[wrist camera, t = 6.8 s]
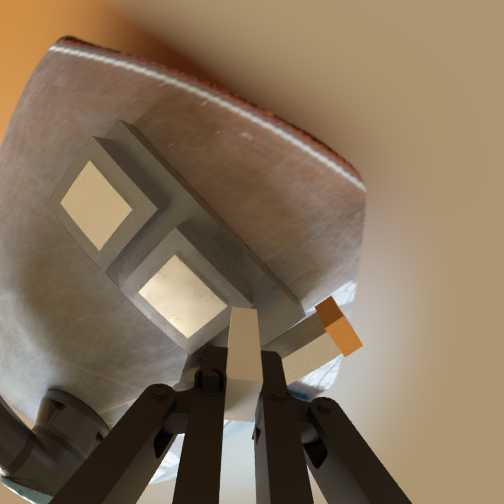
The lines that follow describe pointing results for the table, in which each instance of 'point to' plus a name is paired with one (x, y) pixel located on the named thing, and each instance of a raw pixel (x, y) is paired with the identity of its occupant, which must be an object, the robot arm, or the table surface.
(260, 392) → the robot arm
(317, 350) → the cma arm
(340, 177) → the table surface
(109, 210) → the grey stepped block base
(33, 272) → the table surface
